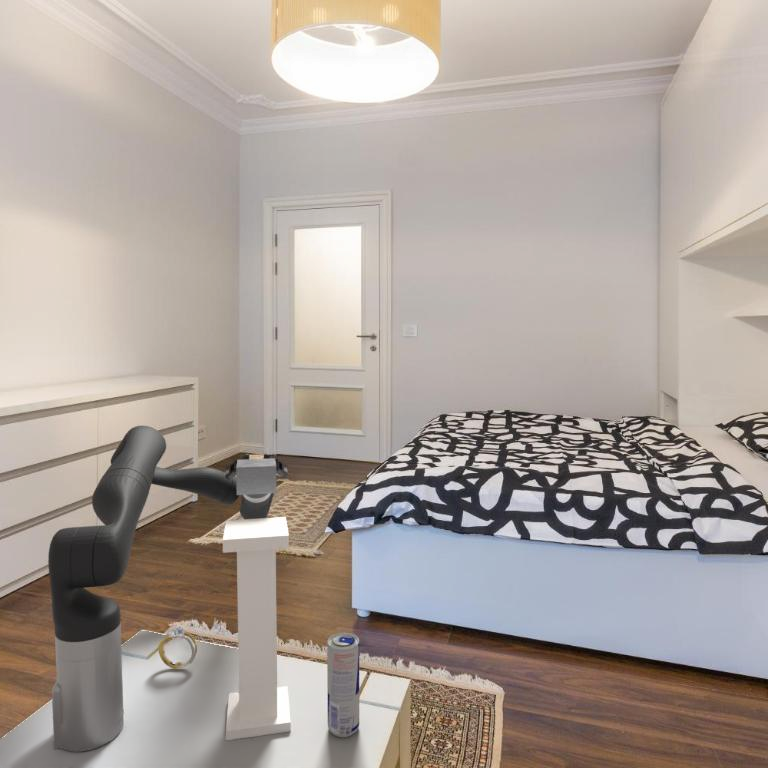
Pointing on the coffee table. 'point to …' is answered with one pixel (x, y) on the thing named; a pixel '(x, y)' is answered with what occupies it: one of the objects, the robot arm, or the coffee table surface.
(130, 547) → the robot arm
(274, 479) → the hammer
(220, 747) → the coffee table surface
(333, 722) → the beverage can
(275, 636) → the stand
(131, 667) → the coffee table surface
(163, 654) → the ring
